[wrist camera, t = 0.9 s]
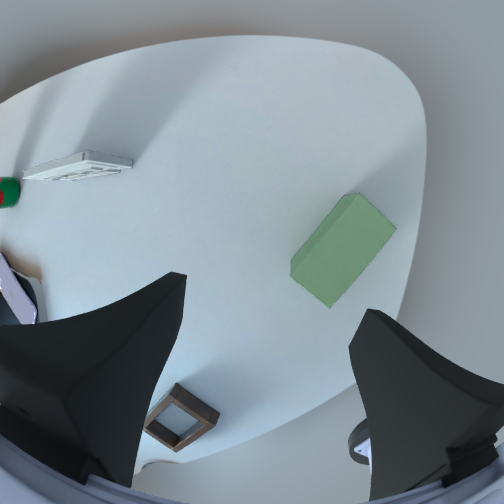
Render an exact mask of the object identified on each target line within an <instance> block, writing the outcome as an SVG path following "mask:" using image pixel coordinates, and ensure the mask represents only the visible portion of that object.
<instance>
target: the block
mask: <svg viewBox="0 0 504 504" xmlns="http://www.w3.org/2000/svg"><path fill="white" fill-rule="evenodd" d="M396 229H397V228H396V227H395V226H394V225H393V224H392V223H391V222H390V221H389V220H388V219H387V218H386V217H385V216H384V215H383V214H382V213H381V212H380V211H379V210H378V209H377V208H376V207H374V206H373V205H372V204H371V203H370V202H369V201H368V200H367V199H366V198H365V197H364V196H362V195H361V194H360V193H354V194H348V195H344V196H343V197H342V198H341V200H340V201H339V202H338V203H337V205H336V206H335V207H334V208H333V210H332V211H331V212H330V213H329V215H328V216H327V217H326V218H325V220H324V221H323V222H322V223H321V225H320V226H319V227H318V228H317V229H316V231H315V232H314V233H313V234H312V236H311V237H310V238H309V239H308V240H307V242H306V243H305V244H304V245H303V246H302V248H301V249H300V250H299V251H298V252H297V254H296V255H295V256H294V257H293V258H292V260H291V269H290V277H291V278H292V279H293V280H294V281H296V282H297V283H298V284H299V285H301V286H302V287H303V288H304V289H306V290H307V291H308V292H309V293H310V294H312V295H313V296H314V297H315V298H317V299H318V300H319V301H320V302H322V303H323V304H324V305H325V306H326V307H328V308H331V306H332V305H333V304H334V303H335V302H336V301H337V300H338V299H339V298H340V297H341V295H342V294H343V293H344V292H345V291H346V290H347V289H348V288H349V287H350V285H351V284H352V283H353V282H354V281H355V280H356V278H357V277H358V276H359V275H360V274H361V273H362V271H363V270H364V269H365V268H366V267H367V266H368V264H369V263H370V262H371V261H372V259H373V258H374V257H375V256H376V255H377V253H378V252H379V251H380V250H381V248H382V247H383V246H384V245H385V243H386V242H387V241H388V240H389V238H390V237H391V236H392V234H393V233H394V232H395V230H396Z"/></svg>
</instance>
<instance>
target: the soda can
mask: <svg viewBox="0 0 504 504" xmlns="http://www.w3.org/2000/svg"><path fill="white" fill-rule="evenodd" d="M19 193H20V187H19V182H18V181H17V179H16V178H15V177H0V209H1V208H10V207H13V206H14V205H15V204H16V203H17V201H18V198H19Z"/></svg>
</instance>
